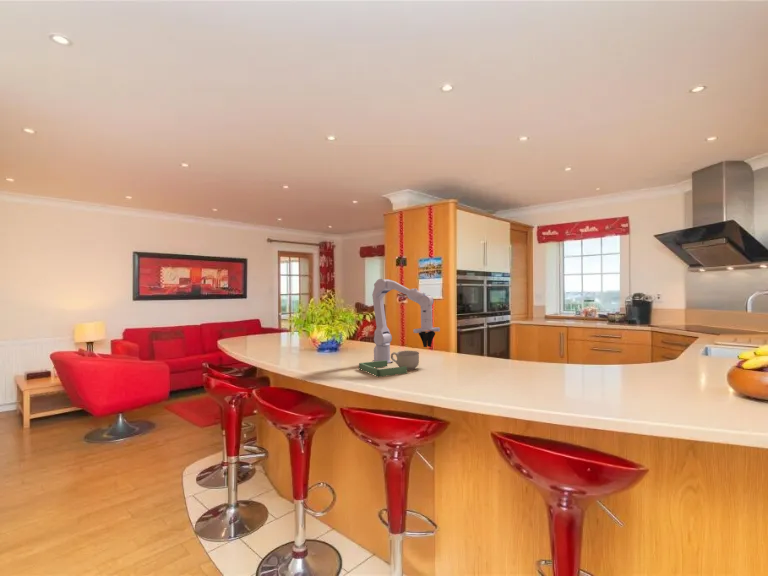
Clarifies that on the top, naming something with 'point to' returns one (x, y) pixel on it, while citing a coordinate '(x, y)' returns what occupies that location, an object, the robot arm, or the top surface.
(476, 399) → the top surface
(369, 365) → the green bay
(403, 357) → the teacup
